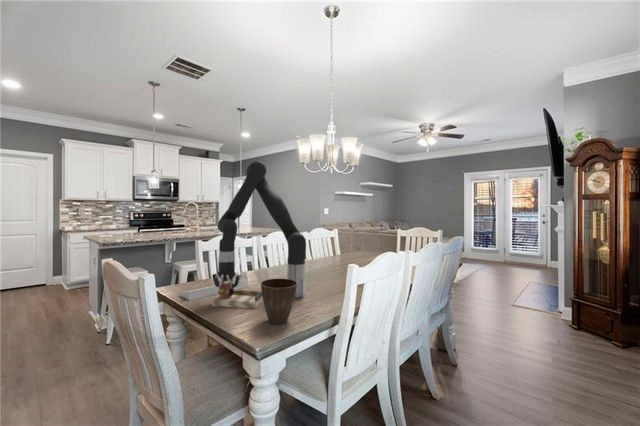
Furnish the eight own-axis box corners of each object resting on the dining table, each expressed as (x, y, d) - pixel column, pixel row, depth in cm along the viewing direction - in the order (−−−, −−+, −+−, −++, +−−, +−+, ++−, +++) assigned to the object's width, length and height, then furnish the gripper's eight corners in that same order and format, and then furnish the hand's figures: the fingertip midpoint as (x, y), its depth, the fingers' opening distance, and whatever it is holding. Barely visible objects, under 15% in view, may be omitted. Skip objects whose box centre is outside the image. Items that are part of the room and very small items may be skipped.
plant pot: (283, 311, 135) (283, 276, 135) (303, 322, 124) (304, 283, 123) (253, 319, 125) (254, 281, 125) (272, 331, 114) (273, 290, 114)
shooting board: (262, 300, 149) (262, 291, 149) (255, 308, 138) (256, 297, 138) (222, 298, 151) (222, 288, 151) (212, 306, 140) (212, 295, 140)
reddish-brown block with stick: (233, 294, 149) (233, 282, 148) (223, 302, 137) (223, 289, 136) (225, 294, 149) (225, 282, 149) (214, 302, 137) (214, 289, 137)
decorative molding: (181, 302, 154) (189, 301, 147) (180, 292, 154) (188, 291, 148) (239, 289, 179) (248, 288, 172) (238, 281, 180) (247, 279, 173)
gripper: (243, 259, 148) (243, 293, 148) (216, 258, 149) (215, 292, 150) (238, 262, 140) (237, 298, 141) (209, 261, 142) (208, 296, 142)
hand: (226, 295), depth 145 cm, fingers closed on reddish-brown block with stick, 4 cm apart
